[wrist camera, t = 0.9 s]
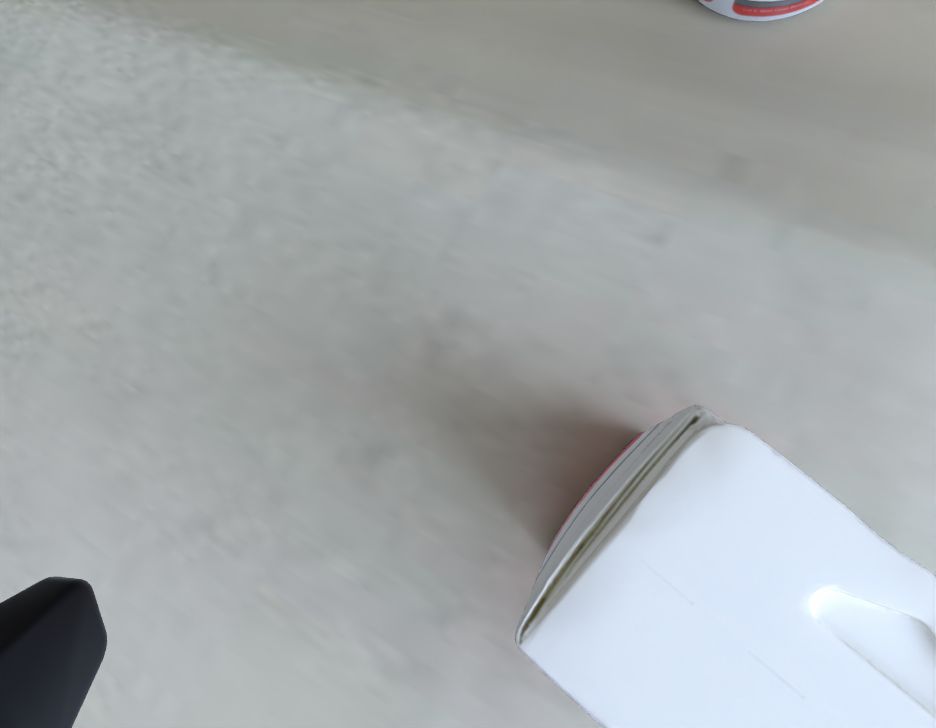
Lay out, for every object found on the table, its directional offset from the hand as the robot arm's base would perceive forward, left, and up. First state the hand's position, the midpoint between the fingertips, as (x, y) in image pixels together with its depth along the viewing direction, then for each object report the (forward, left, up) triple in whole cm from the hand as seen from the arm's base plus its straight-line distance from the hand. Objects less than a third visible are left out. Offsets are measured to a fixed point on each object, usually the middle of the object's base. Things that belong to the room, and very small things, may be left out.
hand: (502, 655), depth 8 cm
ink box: (-3, -4, -16) cm, 16 cm away
